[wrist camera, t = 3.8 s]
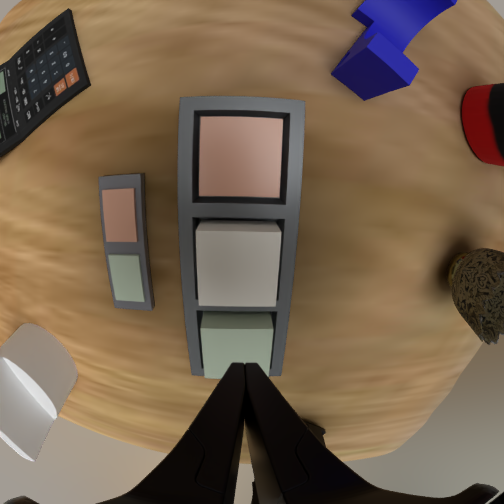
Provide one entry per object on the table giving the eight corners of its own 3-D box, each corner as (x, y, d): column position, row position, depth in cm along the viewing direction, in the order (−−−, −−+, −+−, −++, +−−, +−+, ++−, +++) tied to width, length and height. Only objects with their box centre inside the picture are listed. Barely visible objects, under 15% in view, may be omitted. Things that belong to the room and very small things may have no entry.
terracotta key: (273, 192, 17) (279, 197, 15) (204, 190, 17) (199, 195, 15) (276, 124, 16) (282, 119, 13) (205, 122, 15) (200, 116, 13)
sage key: (265, 356, 20) (268, 378, 18) (207, 356, 20) (204, 378, 17) (269, 308, 18) (273, 328, 16) (204, 307, 18) (200, 328, 16)
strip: (154, 305, 20) (151, 312, 19) (118, 302, 20) (113, 309, 19) (144, 173, 17) (138, 174, 16) (103, 176, 17) (96, 177, 16)
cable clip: (378, -14, 12) (411, -44, 6) (418, 18, 13) (458, -3, 7) (312, 62, 15) (342, 28, 9) (363, 101, 16) (409, 85, 10)
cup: (416, 284, 21) (470, 333, 13) (457, 215, 19) (521, 244, 11) (451, 311, 22) (496, 353, 15) (486, 253, 21) (537, 284, 13)
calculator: (92, 86, 14) (72, 77, 12) (2, 164, 15) (-19, 168, 13) (73, 11, 11) (56, -1, 9) (-11, 89, 12) (-30, 87, 9)
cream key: (270, 287, 18) (275, 306, 16) (203, 286, 18) (198, 305, 15) (275, 221, 16) (281, 232, 14) (201, 220, 16) (195, 230, 14)
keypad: (280, 354, 22) (285, 379, 20) (191, 354, 22) (187, 378, 19) (300, 104, 16) (312, 95, 13) (183, 101, 15) (173, 91, 13)
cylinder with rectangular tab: (7, 329, 21) (-46, 391, 9) (44, 316, 20) (-22, 395, 9) (48, 386, 24) (11, 453, 12) (92, 383, 23) (54, 468, 12)
